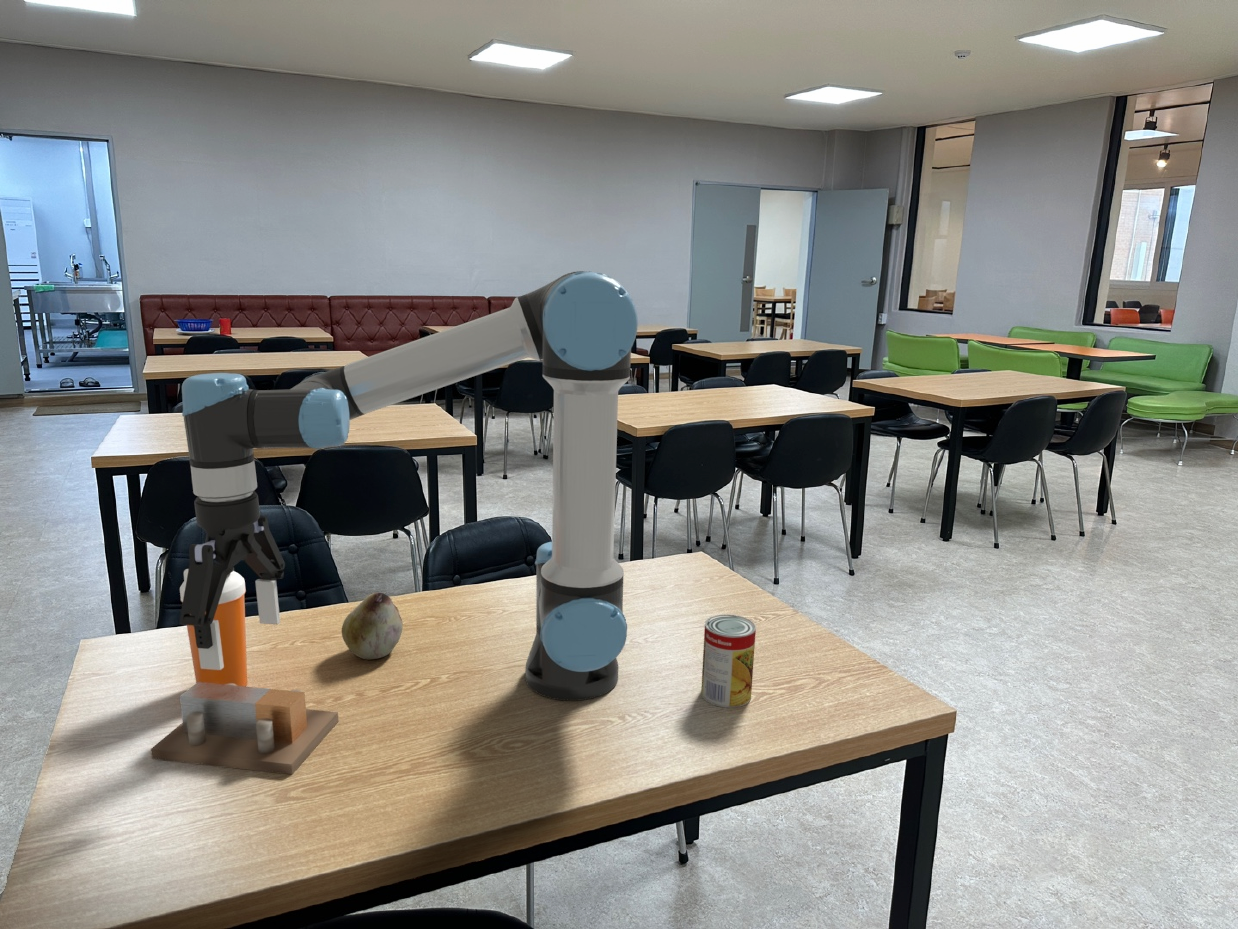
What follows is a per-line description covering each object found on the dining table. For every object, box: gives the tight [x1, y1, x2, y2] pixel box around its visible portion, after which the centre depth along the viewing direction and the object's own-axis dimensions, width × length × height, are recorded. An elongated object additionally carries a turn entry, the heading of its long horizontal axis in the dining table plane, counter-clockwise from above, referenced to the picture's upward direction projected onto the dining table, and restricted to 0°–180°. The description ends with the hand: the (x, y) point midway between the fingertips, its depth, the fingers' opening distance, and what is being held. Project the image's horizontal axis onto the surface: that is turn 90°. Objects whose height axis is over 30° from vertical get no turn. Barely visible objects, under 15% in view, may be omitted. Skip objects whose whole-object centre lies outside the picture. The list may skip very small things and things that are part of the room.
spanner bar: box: [179, 682, 307, 744], centre depth 115 cm, size 16×4×6 cm, turn 82°
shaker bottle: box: [179, 567, 248, 687], centre depth 127 cm, size 9×9×20 cm
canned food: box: [700, 614, 757, 709], centre depth 130 cm, size 8×8×12 cm
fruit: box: [341, 592, 404, 660], centre depth 140 cm, size 10×9×12 cm
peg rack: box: [150, 683, 339, 775], centre depth 115 cm, size 20×13×6 cm, turn 82°
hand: (242, 644), depth 112 cm, fingers open, 13 cm apart
